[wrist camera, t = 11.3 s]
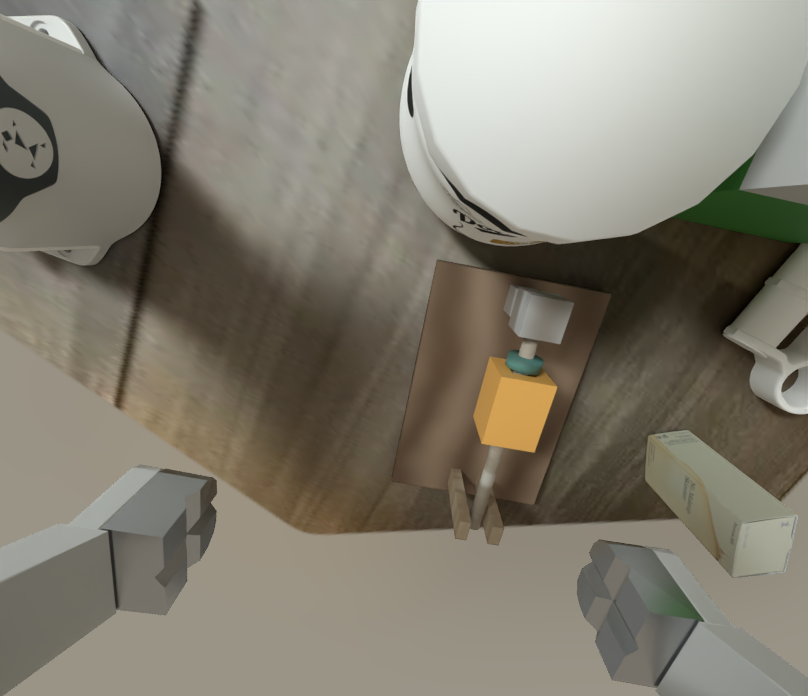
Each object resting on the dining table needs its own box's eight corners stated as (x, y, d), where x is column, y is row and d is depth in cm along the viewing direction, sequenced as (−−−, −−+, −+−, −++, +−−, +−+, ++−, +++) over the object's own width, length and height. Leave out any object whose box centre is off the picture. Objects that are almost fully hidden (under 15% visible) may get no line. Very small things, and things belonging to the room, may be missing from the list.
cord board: (392, 472, 42) (387, 536, 34) (437, 259, 35) (445, 273, 26) (529, 495, 43) (558, 563, 35) (603, 291, 35) (664, 314, 27)
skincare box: (646, 433, 40) (739, 520, 29) (689, 428, 40) (801, 513, 28) (643, 481, 42) (730, 580, 31) (684, 476, 42) (787, 574, 30)
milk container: (483, 281, 35) (550, 341, 18) (358, 121, 31) (294, 6, 14) (652, 146, 31) (938, 62, 14) (534, -58, 27) (738, -518, 10)
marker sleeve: (473, 416, 34) (481, 443, 30) (489, 356, 33) (501, 376, 28) (519, 424, 35) (534, 452, 31) (539, 365, 33) (557, 386, 29)
